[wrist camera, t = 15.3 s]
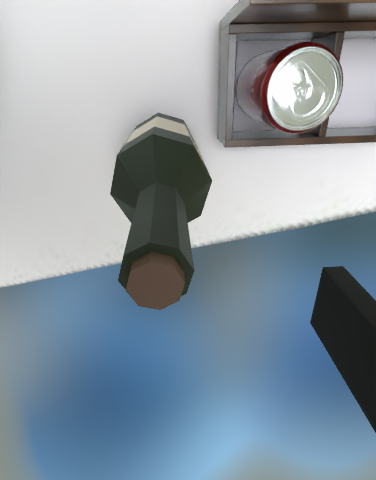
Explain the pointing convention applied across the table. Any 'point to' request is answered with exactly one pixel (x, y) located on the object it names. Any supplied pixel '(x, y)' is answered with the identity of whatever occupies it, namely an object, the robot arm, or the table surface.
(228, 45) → the divided wooden storage box
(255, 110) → the soda can
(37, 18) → the table surface
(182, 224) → the wine bottle
